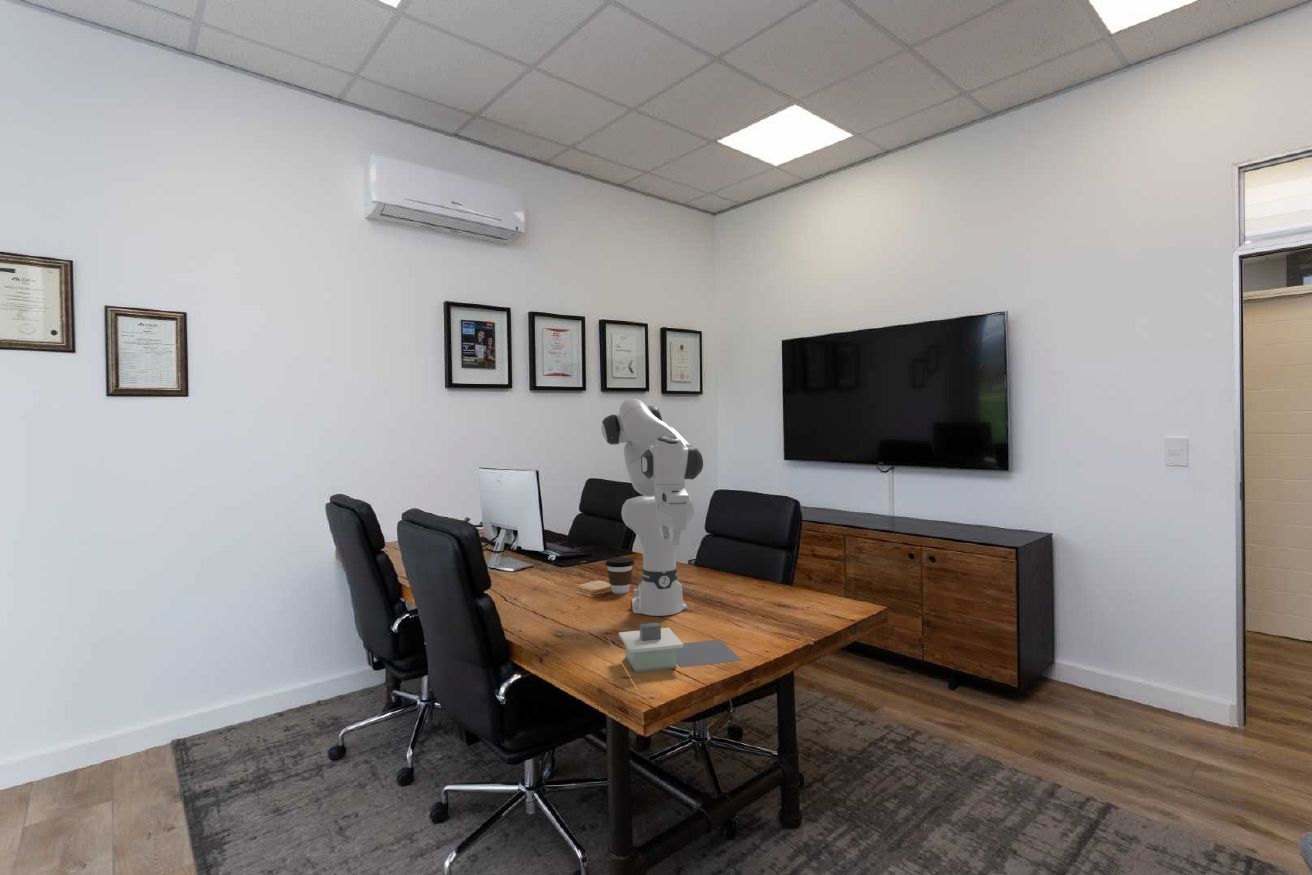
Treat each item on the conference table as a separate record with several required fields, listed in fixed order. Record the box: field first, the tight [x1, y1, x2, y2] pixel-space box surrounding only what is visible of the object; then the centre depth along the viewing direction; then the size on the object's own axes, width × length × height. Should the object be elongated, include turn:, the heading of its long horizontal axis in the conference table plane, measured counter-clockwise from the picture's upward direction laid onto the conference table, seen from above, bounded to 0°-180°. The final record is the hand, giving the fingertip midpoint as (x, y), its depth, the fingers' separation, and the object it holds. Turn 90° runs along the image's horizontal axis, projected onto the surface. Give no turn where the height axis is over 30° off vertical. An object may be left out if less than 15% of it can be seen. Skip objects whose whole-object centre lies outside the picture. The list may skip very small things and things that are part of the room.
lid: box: [618, 622, 684, 653], centre depth 170 cm, size 14×14×4 cm
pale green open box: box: [624, 645, 678, 674], centre depth 170 cm, size 11×11×6 cm
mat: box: [676, 639, 743, 668], centre depth 177 cm, size 17×17×1 cm
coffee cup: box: [604, 556, 635, 595], centre depth 243 cm, size 11×11×12 cm
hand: (670, 541), depth 186 cm, fingers open, 8 cm apart
